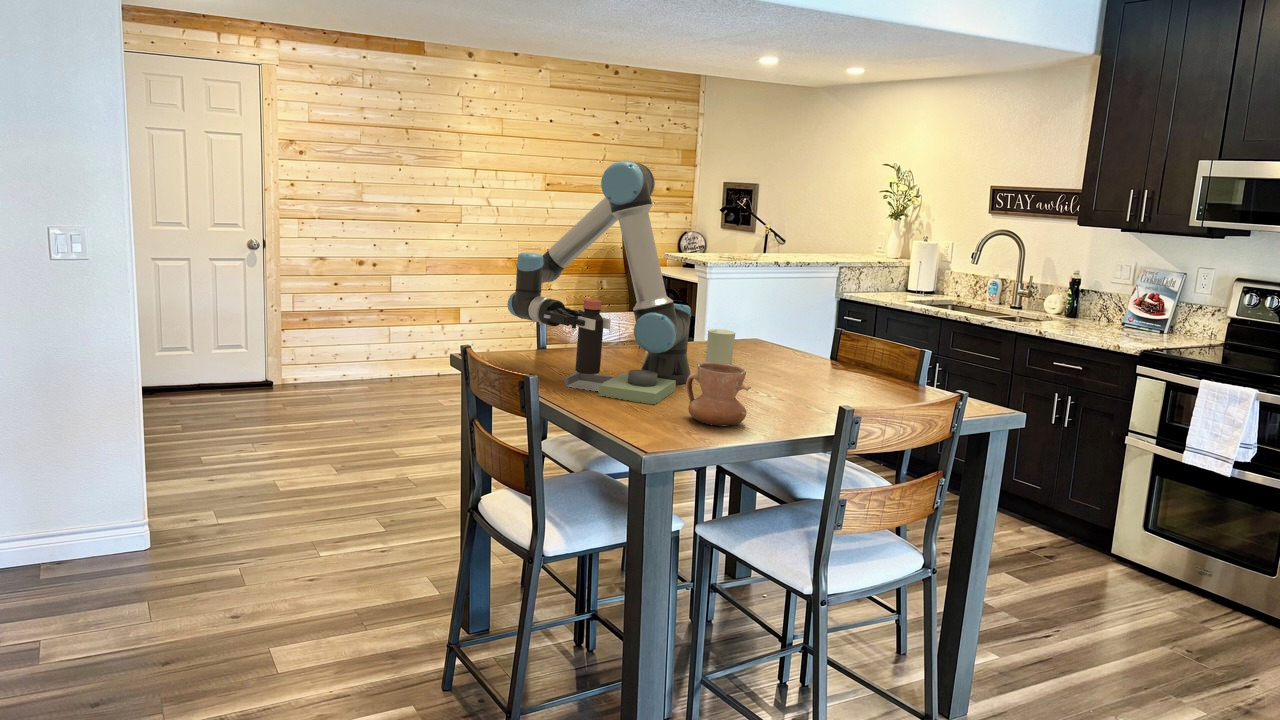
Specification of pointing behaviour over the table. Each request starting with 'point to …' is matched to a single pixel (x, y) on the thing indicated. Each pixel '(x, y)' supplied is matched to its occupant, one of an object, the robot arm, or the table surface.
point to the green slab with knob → (625, 385)
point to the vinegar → (590, 340)
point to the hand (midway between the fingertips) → (601, 324)
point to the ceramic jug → (717, 394)
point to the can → (720, 346)
